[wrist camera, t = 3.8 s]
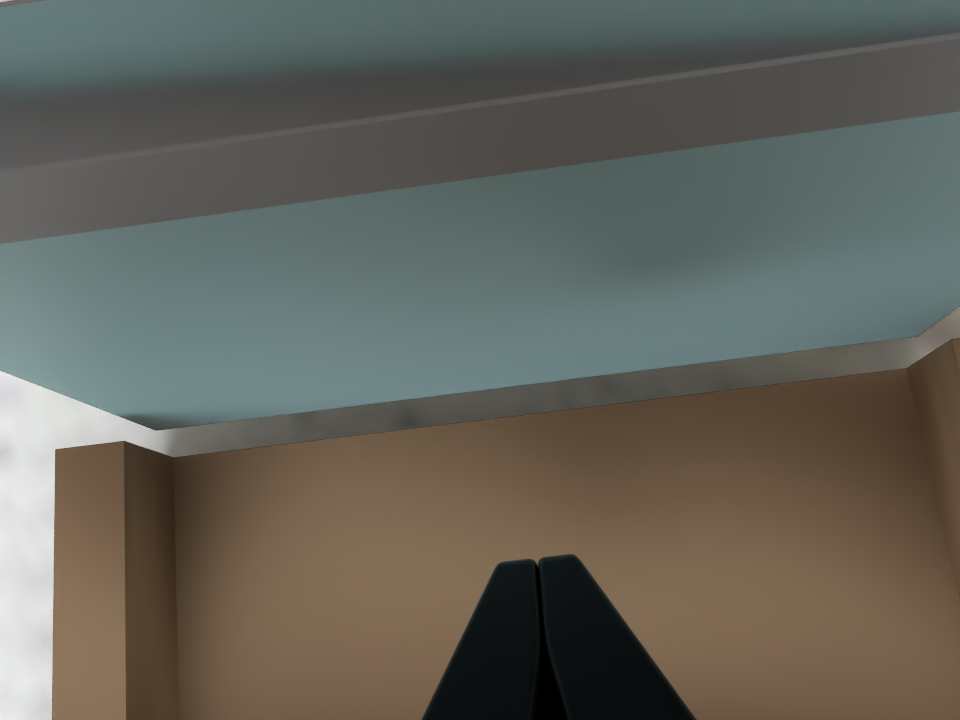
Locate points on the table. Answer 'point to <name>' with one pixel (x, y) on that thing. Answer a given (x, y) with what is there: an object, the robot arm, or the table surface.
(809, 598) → the trailer
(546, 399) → the table surface
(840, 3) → the panel
